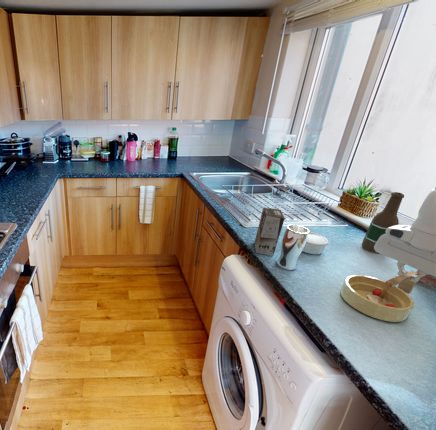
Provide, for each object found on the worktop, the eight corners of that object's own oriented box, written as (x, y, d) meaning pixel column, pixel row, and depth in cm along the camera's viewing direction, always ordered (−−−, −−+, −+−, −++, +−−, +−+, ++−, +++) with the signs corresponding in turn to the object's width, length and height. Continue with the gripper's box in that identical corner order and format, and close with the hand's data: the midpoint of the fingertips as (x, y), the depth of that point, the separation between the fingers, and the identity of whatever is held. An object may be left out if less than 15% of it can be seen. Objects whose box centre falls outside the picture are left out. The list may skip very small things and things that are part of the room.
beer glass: (279, 257, 108) (290, 222, 102) (299, 265, 104) (312, 229, 97) (272, 265, 104) (283, 228, 97) (293, 273, 99) (306, 235, 93)
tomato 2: (385, 302, 84) (389, 311, 83) (380, 304, 83) (384, 314, 82) (396, 302, 81) (400, 311, 81) (390, 304, 80) (394, 314, 80)
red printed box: (411, 282, 96) (425, 257, 92) (411, 278, 98) (424, 253, 94) (445, 293, 91) (462, 267, 87) (444, 288, 93) (460, 263, 89)
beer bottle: (368, 252, 113) (394, 196, 103) (356, 243, 120) (379, 189, 110) (390, 255, 112) (418, 197, 102) (377, 245, 119) (402, 190, 109)
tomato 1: (383, 298, 88) (387, 291, 86) (378, 300, 87) (382, 293, 85) (373, 293, 90) (377, 286, 89) (369, 295, 89) (372, 288, 88)
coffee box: (274, 256, 109) (285, 218, 102) (255, 253, 111) (265, 215, 104) (271, 245, 117) (281, 209, 110) (253, 242, 119) (263, 206, 112)
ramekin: (312, 241, 120) (316, 230, 118) (331, 256, 110) (336, 244, 108) (286, 241, 120) (289, 230, 118) (303, 256, 110) (307, 244, 107)
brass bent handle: (379, 310, 83) (389, 290, 80) (362, 300, 86) (371, 281, 83) (413, 294, 89) (424, 275, 86) (396, 285, 93) (406, 267, 90)
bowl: (417, 314, 82) (425, 300, 80) (387, 330, 77) (395, 316, 75) (358, 282, 95) (364, 270, 93) (328, 294, 90) (334, 281, 87)
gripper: (486, 255, 74) (459, 296, 80) (392, 222, 91) (375, 259, 97) (475, 260, 72) (448, 302, 78) (380, 226, 89) (364, 263, 95)
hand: (406, 278), depth 88 cm, fingers closed on brass bent handle, 2 cm apart
